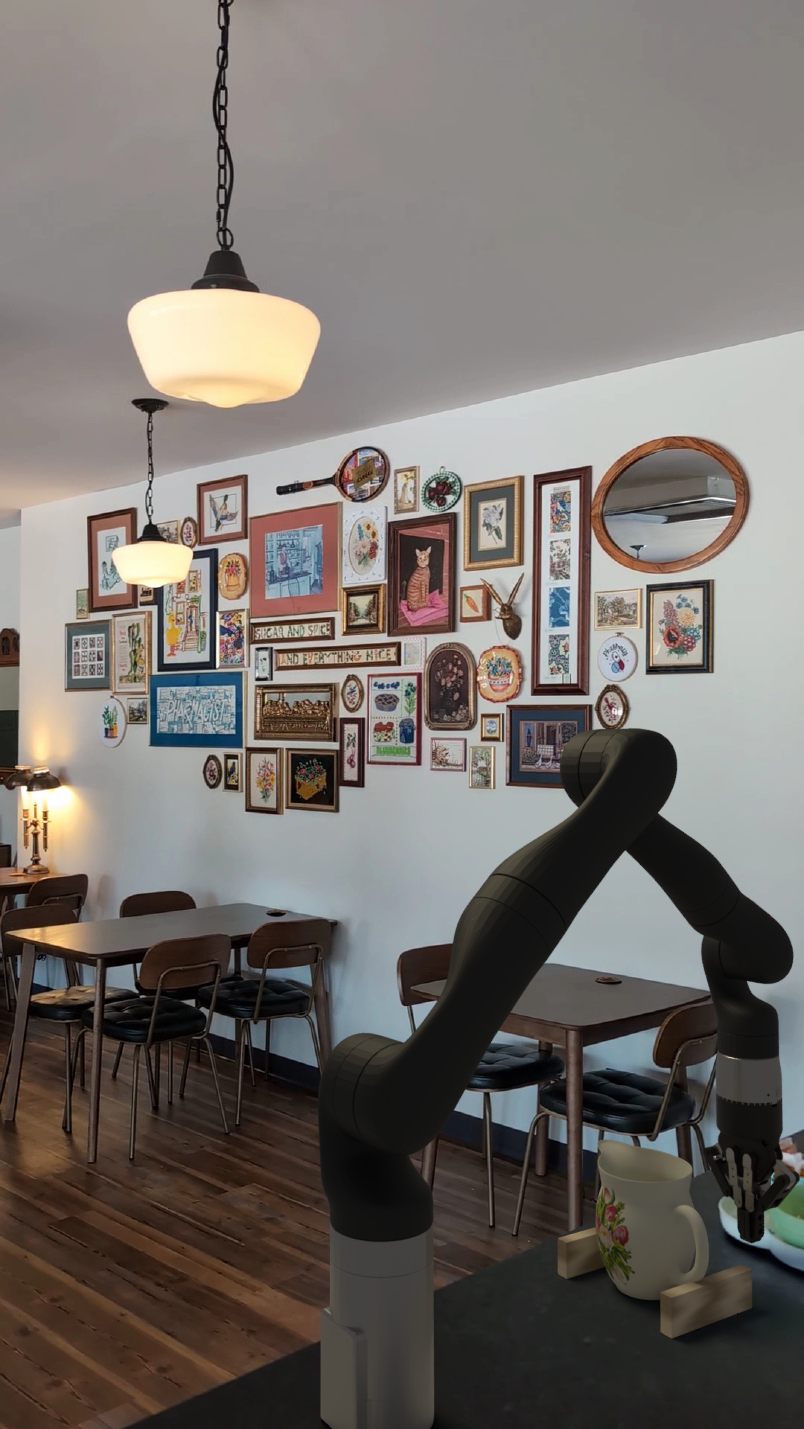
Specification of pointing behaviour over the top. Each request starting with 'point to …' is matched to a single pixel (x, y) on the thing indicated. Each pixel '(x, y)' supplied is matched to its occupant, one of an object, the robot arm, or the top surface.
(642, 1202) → the pitcher
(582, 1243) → the oak rails
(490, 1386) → the top surface
